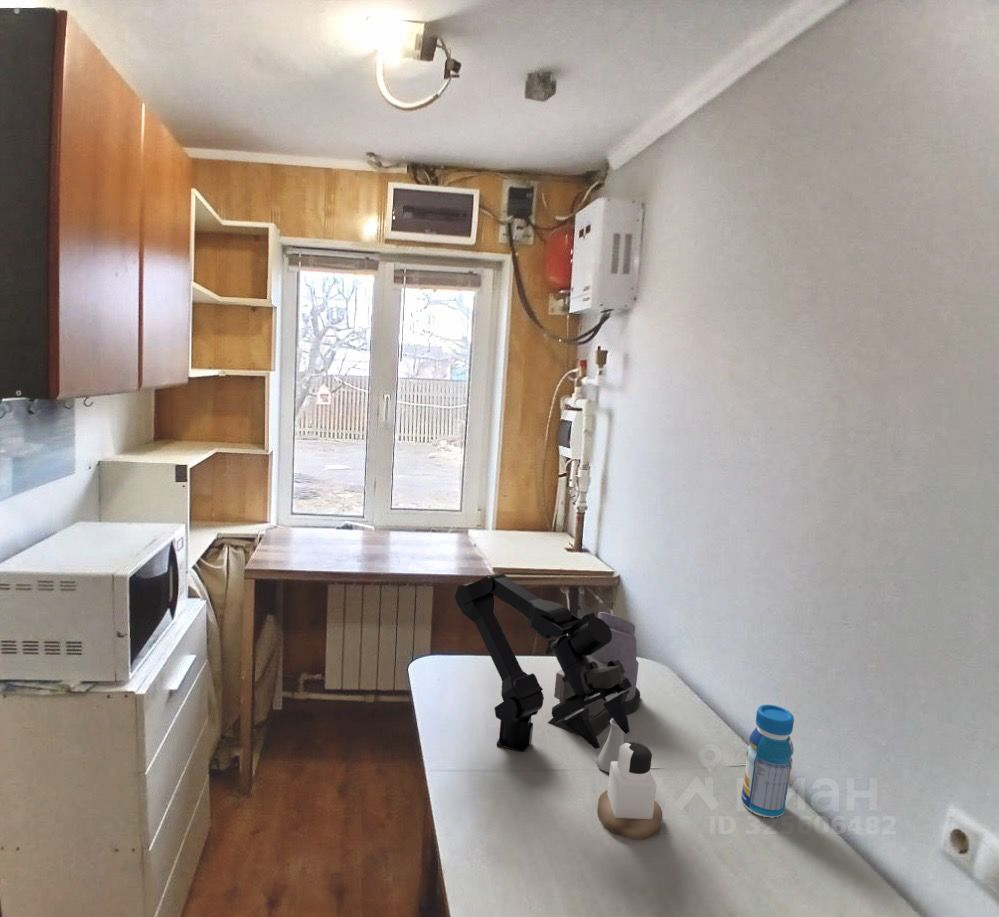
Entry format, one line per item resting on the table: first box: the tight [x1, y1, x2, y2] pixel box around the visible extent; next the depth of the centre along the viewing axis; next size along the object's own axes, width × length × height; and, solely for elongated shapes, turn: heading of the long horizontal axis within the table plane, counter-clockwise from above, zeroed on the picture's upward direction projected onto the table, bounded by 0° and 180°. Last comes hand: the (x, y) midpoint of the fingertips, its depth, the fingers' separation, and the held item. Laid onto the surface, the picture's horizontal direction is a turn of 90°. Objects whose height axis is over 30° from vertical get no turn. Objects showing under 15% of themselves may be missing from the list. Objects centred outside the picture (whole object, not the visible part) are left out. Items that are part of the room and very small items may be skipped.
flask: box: [595, 718, 625, 774], centre depth 144 cm, size 7×7×10 cm
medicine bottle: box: [607, 741, 657, 819], centre depth 128 cm, size 7×7×12 cm
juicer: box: [547, 611, 643, 738], centre depth 168 cm, size 30×16×24 cm, turn 145°
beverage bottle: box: [740, 704, 795, 819], centre depth 134 cm, size 8×8×20 cm
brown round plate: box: [596, 789, 663, 840], centre depth 128 cm, size 12×12×2 cm
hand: (613, 740), depth 131 cm, fingers open, 9 cm apart
